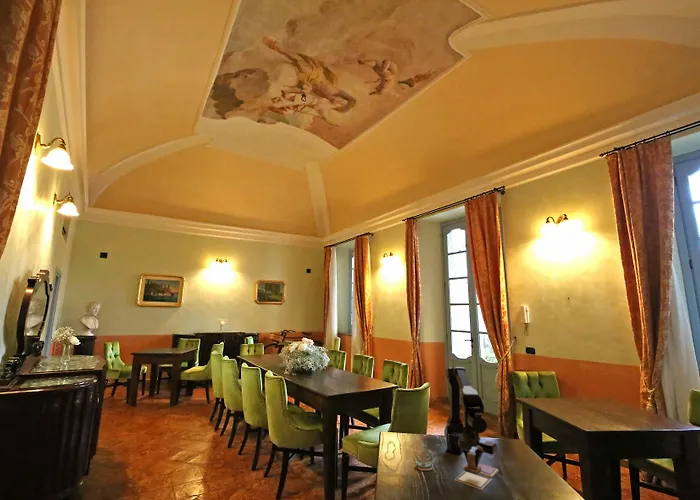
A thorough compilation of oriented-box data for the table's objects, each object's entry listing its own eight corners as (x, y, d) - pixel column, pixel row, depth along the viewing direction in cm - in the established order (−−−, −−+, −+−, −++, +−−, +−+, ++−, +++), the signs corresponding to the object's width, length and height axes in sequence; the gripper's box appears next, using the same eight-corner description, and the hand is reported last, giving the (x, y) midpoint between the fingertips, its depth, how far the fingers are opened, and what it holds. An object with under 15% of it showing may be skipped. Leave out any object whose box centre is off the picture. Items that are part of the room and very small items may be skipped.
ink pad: (468, 470, 151) (468, 467, 152) (475, 464, 157) (475, 461, 158) (491, 478, 145) (491, 474, 145) (498, 471, 151) (498, 468, 151)
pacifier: (434, 471, 150) (430, 465, 156) (434, 456, 151) (430, 450, 157) (418, 472, 149) (414, 465, 155) (418, 456, 150) (414, 450, 156)
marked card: (454, 480, 142) (454, 478, 142) (465, 471, 151) (465, 469, 151) (481, 489, 135) (481, 488, 135) (491, 479, 144) (491, 478, 144)
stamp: (464, 470, 143) (463, 453, 144) (469, 466, 147) (468, 450, 148) (476, 474, 140) (475, 457, 141) (481, 470, 144) (480, 453, 145)
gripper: (441, 423, 146) (442, 464, 144) (487, 435, 134) (488, 480, 132) (453, 417, 155) (454, 456, 152) (497, 428, 143) (498, 470, 140)
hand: (472, 465), depth 144 cm, fingers closed on stamp, 3 cm apart
